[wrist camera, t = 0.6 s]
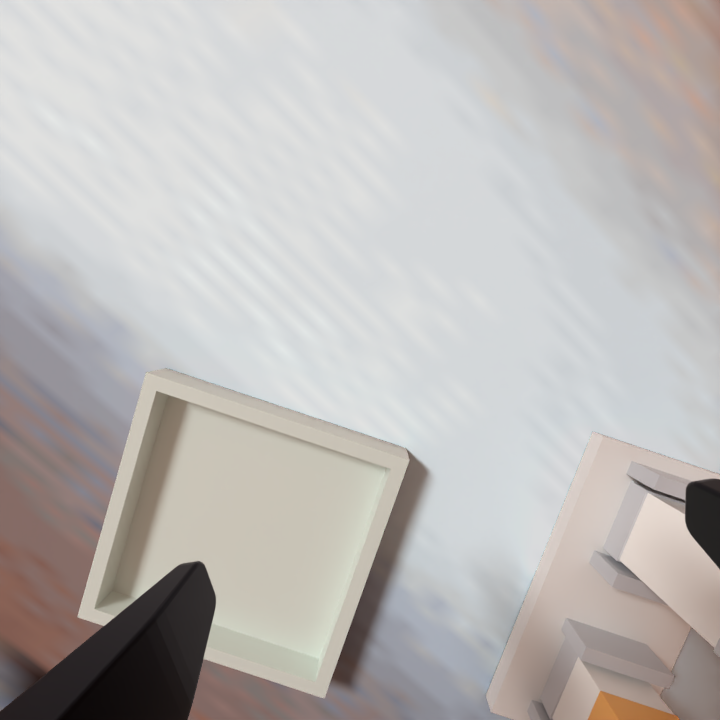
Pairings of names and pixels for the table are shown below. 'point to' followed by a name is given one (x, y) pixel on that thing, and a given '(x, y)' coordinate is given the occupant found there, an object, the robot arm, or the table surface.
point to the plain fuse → (667, 557)
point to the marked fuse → (598, 693)
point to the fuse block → (593, 587)
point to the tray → (247, 523)
